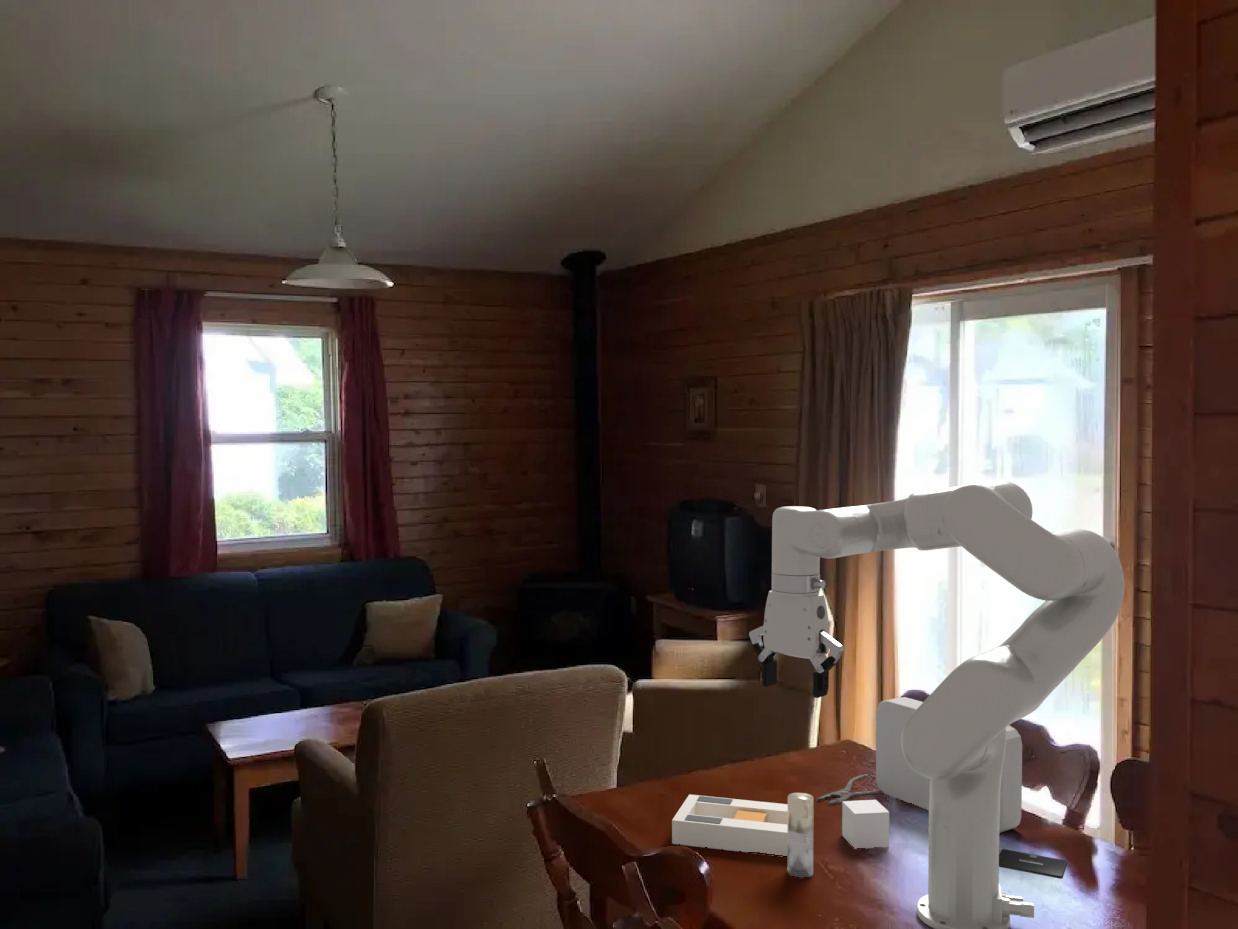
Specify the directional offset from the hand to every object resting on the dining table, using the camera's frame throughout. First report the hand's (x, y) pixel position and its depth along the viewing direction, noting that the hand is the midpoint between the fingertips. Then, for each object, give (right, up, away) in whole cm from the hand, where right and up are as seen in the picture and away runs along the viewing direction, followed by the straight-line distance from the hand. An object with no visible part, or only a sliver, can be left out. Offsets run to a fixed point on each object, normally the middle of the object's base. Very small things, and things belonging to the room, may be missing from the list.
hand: (794, 690), depth 168 cm
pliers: (+19, -27, +33) cm, 47 cm away
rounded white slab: (+31, -27, +24) cm, 48 cm away
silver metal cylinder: (0, -28, -3) cm, 28 cm away
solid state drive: (+38, -28, 0) cm, 47 cm away
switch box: (-7, -27, +11) cm, 30 cm away
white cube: (+14, -28, +10) cm, 32 cm away
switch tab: (-6, -26, +11) cm, 29 cm away
